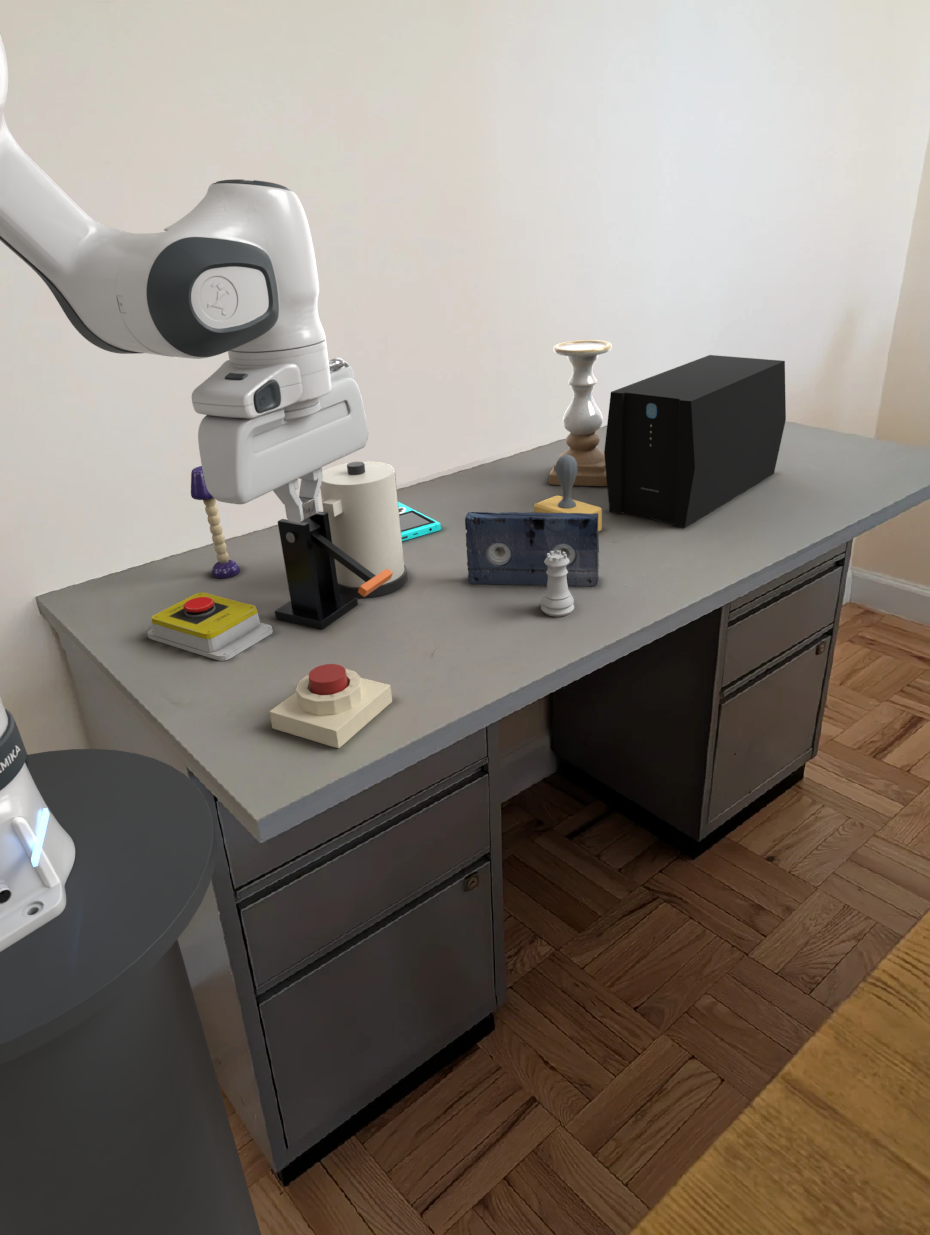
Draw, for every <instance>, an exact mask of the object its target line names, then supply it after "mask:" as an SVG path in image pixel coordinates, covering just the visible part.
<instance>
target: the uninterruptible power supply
mask: <svg viewBox="0 0 930 1235" xmlns="http://www.w3.org/2000/svg"><path fill="white" fill-rule="evenodd" d="M609 395H610V396H609V404H608V413H607V414H608V415H607V422H606V433H605V441H604V451H603V452H604V456H605V467H606V478H607V486H606V487H607V489H606V490H607V498H608V510H609V512H610V513H614V514H618V515H622V514H626V515H630V516H636V517H641V518H644V519H648V520H649V519H650V520H654V521H657V522H663V523H667V524H668V523H669V524H672V525H673V526H674V527H677V528H678V527H679V528H682V529H686V528H687V527H689V526H690V525H692V524H694V523H696V522H697V521H699V520H700V519H702V518H704V517H705V516H707V515H709V514H710V513H712V512H714V511H715V510H717V509H719V508H721V506H724V505H725V504H727V503H728V502H730V501H731V500H733V499H735V498H737V497H739V495H741V494H743V493H745V492H747V491H748V490H750V489H751V488H753V487H754V486H756V485H758V484H759V483H762V482H763V481H764V480H766V479H767V478H769V477H771V476H772V475H774V474H775V471H776V466H777V462H778V457H779V453H780V449H781V444H782V438H783V435H784V430H785V424H786V421H787V410H786V406H787V405H786V361H785V360H777V359H765V358H754V357H740V356H728V355H715V354H709V355H706V356H704V357H701V358H698V359H695V360H692V361H690V362H687V363H685V364H682V365H679V366H676V367H674V368H671V369H668V370H666V371H663V372H660V373H657V374H655V375H652V376H650V377H647V378H644V379H641V380H638V381H636V382H633V383H631V384H628V385H626V386H623V387H620V388H618V389H614V390H612V391H611V392H610V394H609Z"/></svg>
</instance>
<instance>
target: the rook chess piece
mask: <svg viewBox="0 0 930 1235" xmlns="http://www.w3.org/2000/svg"><path fill="white" fill-rule="evenodd" d="M569 562H570V561H569V559H568V558H567V554H566V553H565V552H562V554H561V551H557V554H554V551H551V552H550V553H547V558H546V559H545V561H544V563H545V564H546V565H547V567H548V570H547V571H546V573H547V575H548V582H547V585H546V590H545V591H544V593H543V596H542V598H541V601H540V602H541V606H540V609H541V611H542V612H543V613H544V614H545V615H547V616H549V617H556V618H558V617H559V618H560V617H565V616H568V615H570V614H571V613H572V612H573V611H574V610H575V604H574V602H575V598H574V596H573V595H572V593H571V590H569V586H568V585H567V573H568V571H567V569H566V566H567V565H568V563H569Z"/></svg>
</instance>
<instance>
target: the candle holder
mask: <svg viewBox="0 0 930 1235" xmlns="http://www.w3.org/2000/svg"><path fill="white" fill-rule="evenodd" d="M612 349H613V345H612V343H611V342H609V341H606V340H598V339H583V340H581V339H580V340H568V341H563V342H560V343H557V344H555V345H554V346H553V352H554V353H555V354H556V355H559V356H564V357H566V358H567V361H568V363H569V364H570V365H571V368H572V373H571V376H570V378H569V379H568V381H567V384H568V385H569V386H570V389H571V391H572V394H573V396H572V399H571V402H570V403H569V405H568V406H567V408H566V410H565V412H564V413H563V417H562V425H563V427H564V429H565V430H566V431H567V432H569V434H568V435H567V436H566V439H565V442H566V445H567V447H568V449H566V450H565V451H562V452H561V453H560V454H559V456H557V459H556V461H555V462H554V465H553V467H552V469H551V470H550V472H549V474H548V484H549V485H553V486H554V485H557V486H561V485H560V483H559V480H558V478H557V474H556V462H557V460H558V459H559V458H560V457H561V456H563V455H570V456H572V457H574V459H575V460H576V462H577V475H576V478H575V481H574V484H573V486H583V487H584V486H586V487H607V478H606V467H605V456H604V451H603V450H601V449H600V448H598V447H597V446H598V445H599V444H600V442H601V439H600V436H599V435H598V434H597V431H598V430H599V429H601V428H602V426H603V423H604V418H603V417H604V416H603V414H602V411H601V410H600V408H599V407H598V405H597V403H596V401H595V399H594V397H593V391H594V389H595V386H596V385H597V384H598V379H597V378H596V376H595V375H594V371H593V369H594V365H595V363H597V360H598V359H599V356H600V355H604V354H607V353H610V351H612Z"/></svg>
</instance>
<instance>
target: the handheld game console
mask: <svg viewBox="0 0 930 1235" xmlns="http://www.w3.org/2000/svg"><path fill="white" fill-rule="evenodd" d="M398 507H399V517H400V526H401V539H402V542H405V541H408V540H412V539H414V538H415V539H416V538H418V537H422V536H425V535H429V534H433V533H435V532H439V531H441V530H442V528H441V526H442V524H441V522H439V521H437V520H435V519H433V518H431V517H429V516H427V515H425V514H423V513H421V512H419V511H417V510H415V509H413V508H411V507H410V506H408V505H405V504H404V503H401V502H400V501H398Z"/></svg>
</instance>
